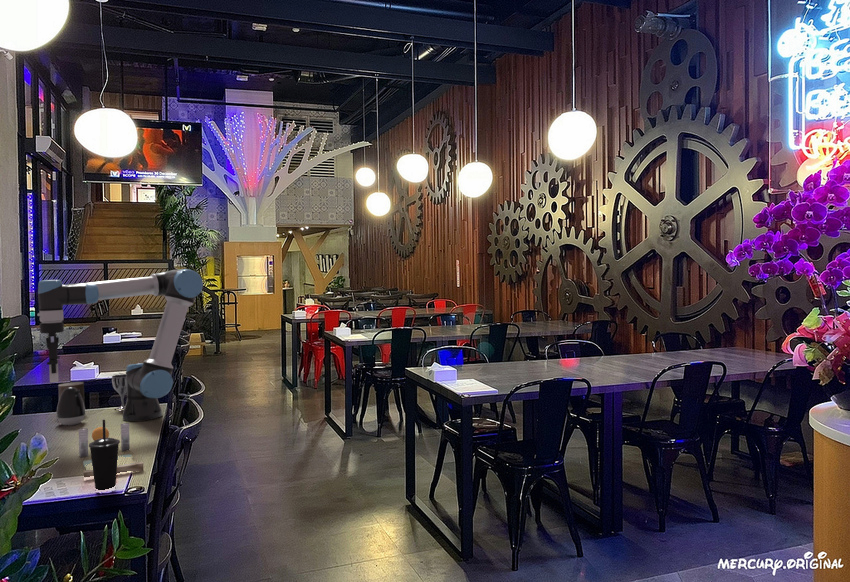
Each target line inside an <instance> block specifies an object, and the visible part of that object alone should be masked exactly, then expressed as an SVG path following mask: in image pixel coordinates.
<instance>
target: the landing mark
mask: <svg viewBox="0 0 850 582" xmlns="http://www.w3.org/2000/svg"><path fill="white" fill-rule="evenodd" d="M121 455H122V456H123V457H125V458H126V457H131V456H132V454H131V453H127V454H121ZM121 455H118V456H119V457H120V456H121ZM122 456H121V457H122ZM82 463H83V467H85V465H86V464H87V465H88V464H90V463H92V459H88V460H83V461H82ZM87 465H86V466H87Z"/></svg>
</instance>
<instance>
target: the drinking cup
mask: <svg viewBox="0 0 850 582" xmlns="http://www.w3.org/2000/svg"><path fill="white" fill-rule="evenodd" d="M102 427H103V438H101V439H98V440H95V441H94V440H93V441H91V442H89V443H88V448H89V449H90V456H91V457H90V458H91V459H90V460H92V466H93V474H94V480H93V483H94V488H96V489H98V490H105V489H109V488H112V487H114V486H115V485H117V476H116V474H117V460H118V456H119V445H120V444H121V440H119V439H117V438H113V437H108V438H106V431H105V428H106V419H102Z"/></svg>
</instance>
